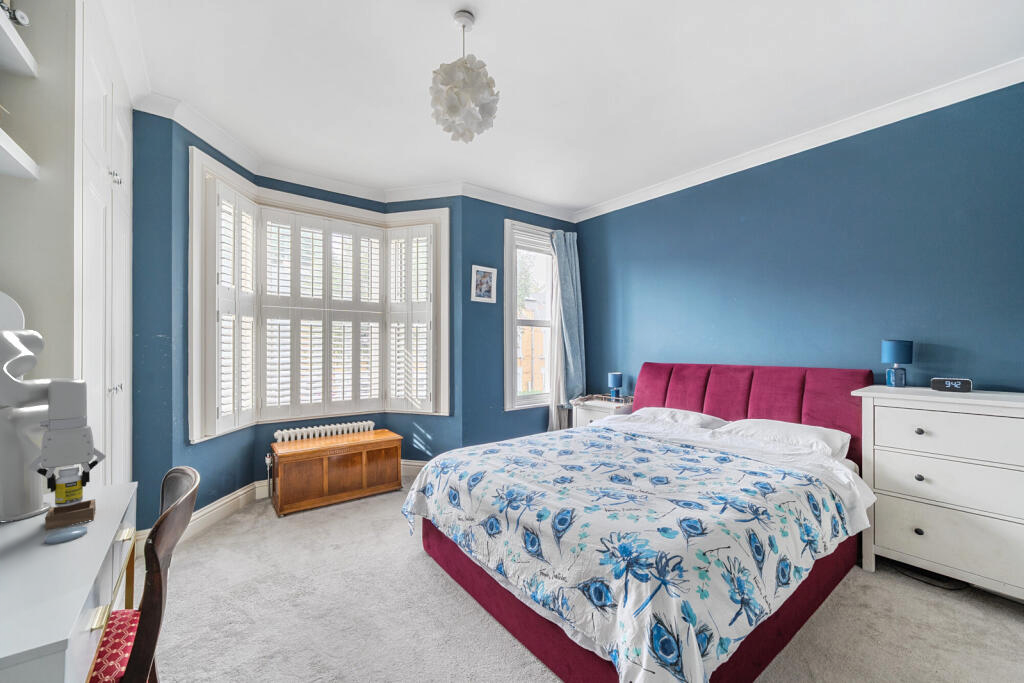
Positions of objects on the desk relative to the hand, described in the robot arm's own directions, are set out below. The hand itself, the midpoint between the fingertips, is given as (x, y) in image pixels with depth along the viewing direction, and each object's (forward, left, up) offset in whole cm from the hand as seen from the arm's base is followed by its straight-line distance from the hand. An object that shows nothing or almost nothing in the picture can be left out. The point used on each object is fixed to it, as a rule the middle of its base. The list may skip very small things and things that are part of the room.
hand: (69, 487), depth 119 cm
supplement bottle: (0, 0, -5) cm, 5 cm away
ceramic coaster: (+8, -12, -9) cm, 17 cm away
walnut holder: (+1, 0, -9) cm, 9 cm away
